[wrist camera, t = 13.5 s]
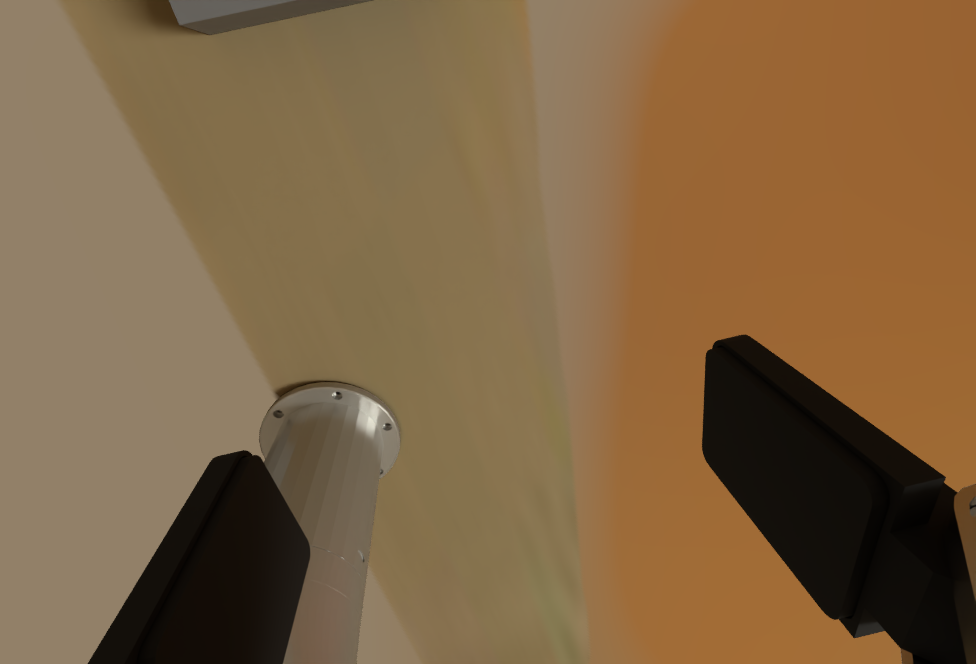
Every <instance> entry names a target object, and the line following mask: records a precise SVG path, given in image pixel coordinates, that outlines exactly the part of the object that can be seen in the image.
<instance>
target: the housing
mask: <svg viewBox="0 0 976 664" xmlns="http://www.w3.org/2000/svg"><path fill="white" fill-rule="evenodd" d="M367 1H372V0H169V2H170V4H171V7H172V9H173V11H174V14H175V16H176V18H177V21H178V23H179V25H181V26H184V27H187V28H190V29H193V30H196V31H199V32H202V33H206V34H209V35H213V34H218V33H222V32H227V31H232V30H236V29H241V28H246V27H250V26H255V25H260V24H264V23H269V22H274V21H278V20H283V19H288V18H292V17H297V16H302V15H306V14H311V13H316V12H321V11H325V10H330V9H335V8H339V7H344V6H349V5H353V4H358V3H363V2H367Z"/></svg>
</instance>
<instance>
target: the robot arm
mask: <svg viewBox="0 0 976 664" xmlns="http://www.w3.org/2000/svg"><path fill="white" fill-rule="evenodd" d="M259 437H260V438H259V442H260V447H261V451H262V453H263V455H264V457H265V462H263V461H262V459H261V458H260V457H259V456H257V455H253V456H252V454H251V453H250V452H248V451H244V450H243V451H239V452H234V453H230V454H226V455H221V456H217V457H215V458H213V459H212V460H211V462H210V463H209V465H208V466H207V468H206V470H205V471H204V473H203V475H202V477H201V478H200V480H199V481H198V483H197V485H196V486H195V488H194V489H193V491H192V493H191V494H190V496H189V498H188V499H187V501H186V503H185V504H184V506H183V508H182V509H181V511H180V512H179V514H178V516H177V517H176V519H175V521H174V522H173V524H172V526H171V527H170V529H169V531H168V532H167V534H166V536H165V537H164V539H163V541H162V542H161V544H160V546H159V547H158V549H157V551H156V552H155V554H154V556H153V557H152V559H151V560H150V562H149V564H148V565H147V567H146V568H145V570H144V572H143V574H142V575H141V577H140V578H139V580H138V582H137V583H136V585H135V587H134V588H133V590H132V592H131V593H130V595H129V597H128V599H127V600H126V601H125V603H124V605H123V606H122V608H121V610H120V611H119V613H118V615H117V616H116V618H115V620H114V621H113V623H112V624H111V626H110V628H109V629H108V631H107V633H106V635H105V636H104V638H103V640H102V641H101V643H100V644H99V646H98V648H97V649H96V651H95V652H94V654H93V656H92V658H91V659H90V661H89V662H88V664H357V652H358V643H359V633H360V624H361V616H362V608H363V600H364V593H365V584H366V577H367V569H368V562H369V554H370V546H371V538H372V530H373V523H374V515H375V507H376V499H377V491H378V484H379V479H381V478H382V477H383V476H384V475H385V474H386V473H387V472H388V471H389V470H390V469H391V468H392V466H393V464H394V463H395V461H396V459H397V456H398V453H399V448H400V429H399V426H398V422H397V420H396V418H395V416H394V415H393V413H392V411H391V410H390V409H389V408H388V407H387V405H386V404H385V403H384V402H383V401H381V400H380V399H379V398H377V397H376V396H375V395H373V394H371V393H369V392H367V391H366V390H364V389H361V388H358V387H355V386H352V385H349V384H343V383H337V382H320V383H312V384H307V385H304V386H301V387H298V388H295V389H293V390H291V391H289V392H287V393H285V394H284V395H283V396H281V397H280V398H279V399H278V400H277V401H275V403H274V404H273V405H272V406H271V408H270V409H269V410H268V412H267V414H266V416H265V418H264V420H263V422H262V425H261V428H260V436H259ZM702 450H703V454H704V457H705V460H706V462H707V463H708V464H709V466H710V467H711V469H712V470H713V471H714V472H715V474H716V475H717V476H718V478H719V479H720V480H721V482H722V483H723V484H724V485H725V487H726V488H727V489H728V491H729V492H730V493H731V494H732V496H733V497H734V498H735V499H736V501H737V502H738V503H739V505H740V506H741V507H742V508H743V510H744V511H745V512H746V514H747V515H748V516H749V517H750V519H751V520H752V521H753V522H754V524H755V525H756V526H757V528H758V529H759V530H760V531H761V533H762V534H763V535H764V537H765V538H766V539H767V540H768V542H769V543H770V544H771V546H772V547H773V548H774V549H775V551H776V552H777V553H778V555H779V556H780V557H781V558H782V560H783V561H784V562H785V563H786V565H787V566H788V567H789V569H790V570H791V571H792V572H793V574H794V575H795V576H796V578H797V579H798V580H799V581H800V582H801V584H802V585H803V586H804V588H805V589H806V590H807V592H808V593H809V594H810V596H811V597H812V598H813V599H814V600H815V602H816V603H817V604H818V606H819V607H820V608H821V609H822V611H823V612H824V613H825V614H826V615H828V616H829V617H830V618H832V619H834V620H836V619H839V620H840V621H841V623H842V624H843V625H844V626H845V628H846V629H847V630H848V631H849V633H850V634H851V635H852V636H853V638H858V637H861V636H865V635H870V634H874V633H878V632H882V631H886V632H887V633H888V634H889V636H890V637H891V638H892V639H893V640H894V641H895V642H896V644H897V645H899V647H900V648H901V657H902V664H976V484H973V485H971V486H968V487H965V488H962V489H961V490H960V491H959V492H958V493H957V492H956V491H954V490H953V489H952V488H950V487H949V486H947V485H946V484H945V483H944V481H945V478H946V477H945V476H943V475H942V474H941V473H939V472H938V471H936V470H935V469H934V468H932V467H931V466H929V465H928V464H927V463H925V462H924V461H922V460H921V459H920V458H918V457H917V456H916V455H914V454H913V453H911V452H910V451H909V450H907V449H906V448H904V447H903V446H902V445H900V444H899V443H898V442H896V441H895V440H893V439H892V438H891V437H889V436H888V435H886V434H885V433H884V432H882V431H881V430H879V429H878V428H876V427H875V426H874V425H872V424H871V423H870V422H868V421H867V420H865V419H864V418H863V417H861V416H859V415H858V414H857V413H856V412H854V411H853V410H852V409H850V408H849V407H847V406H846V405H844V404H843V403H842V402H840V401H839V400H837V399H836V398H835V397H833V396H832V395H831V394H829V393H828V392H826V391H825V390H824V389H822V388H821V387H819V386H818V385H817V384H815V383H814V382H813V381H811V380H810V379H808V378H807V377H806V376H804V375H803V374H801V373H800V372H799V371H797V370H796V369H794V368H793V367H792V366H790V365H789V364H787V363H786V362H785V361H783V360H782V359H780V358H779V357H778V356H776V355H775V354H774V353H772V352H771V351H769V350H768V349H767V348H765V347H764V346H762V345H761V344H760V343H758V342H757V341H755V340H754V339H753V338H751V337H750V336H748V335H739V336H735V337H731V338H726V339H722V340H718V341H716V342H715V343H714V345H713V348H712V349H710V350H708V351H707V353H706V363H705V388H704V414H703V438H702Z"/></svg>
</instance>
